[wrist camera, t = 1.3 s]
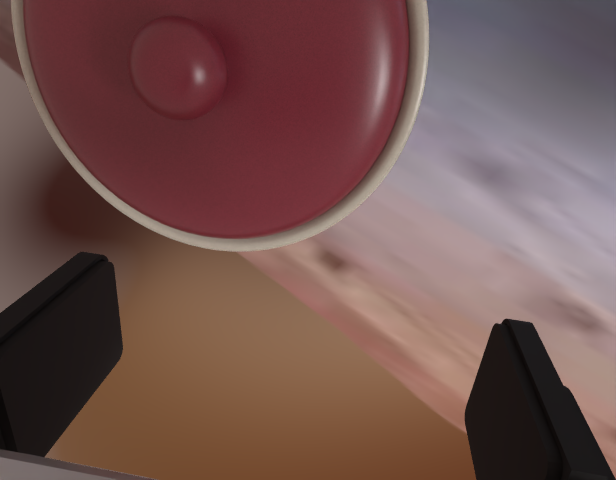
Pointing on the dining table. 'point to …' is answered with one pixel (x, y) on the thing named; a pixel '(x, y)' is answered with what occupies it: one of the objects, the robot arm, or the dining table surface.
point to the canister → (227, 107)
